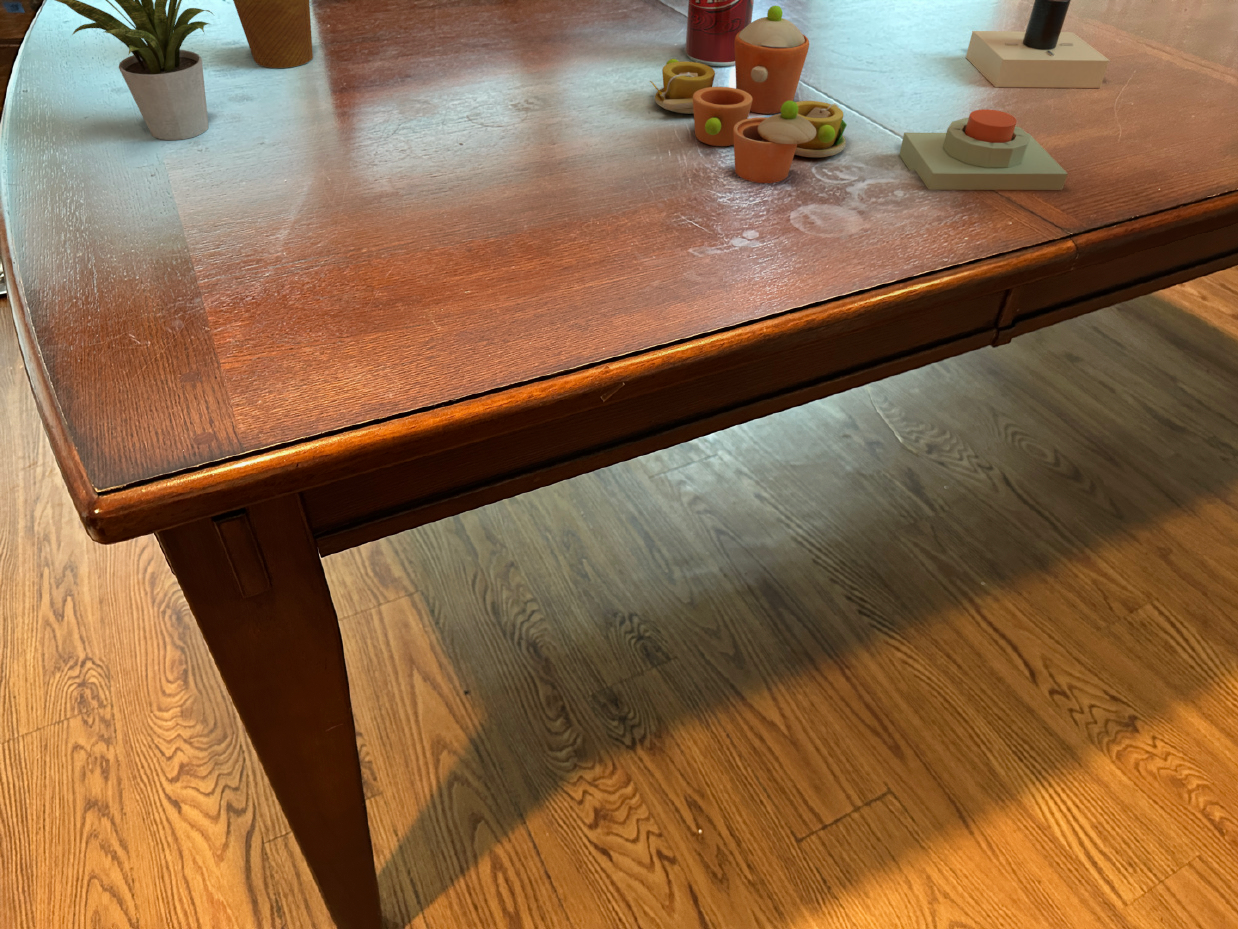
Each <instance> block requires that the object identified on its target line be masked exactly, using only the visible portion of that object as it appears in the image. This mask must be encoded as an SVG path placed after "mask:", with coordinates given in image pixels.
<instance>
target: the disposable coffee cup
mask: <svg viewBox="0 0 1238 929" xmlns="http://www.w3.org/2000/svg"><path fill="white" fill-rule="evenodd" d="M232 1H233V5H234V6H235V10H236V12H237V13H236V14H237V15H238V19H239V21H240V24H241V27H242V29H243V33H244V36H245V38H246V41H247V44H248V47H249V49H250V53H251V55H252V58H253V61H254V63H255V64H256V65H258V66H260V67H264V68H270V69H288V68H294V67H298V66H302V65H306V64H307V63H309V62H310V61H312V60H313V58H314V54H313V38H312V37H313V36H312V23H311V20H312V19H311V8H310V0H232Z"/></svg>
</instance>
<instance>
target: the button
mask: <svg viewBox="0 0 1238 929" xmlns="http://www.w3.org/2000/svg"><path fill="white" fill-rule="evenodd" d="M968 118H969V119H968V123H967V126H966V130H965V135H967V136H969V137H971V138H973V139H976V140H980V141H985V142H990V143H1006V142H1009V141H1011V139H1012V135H1013V132H1014V129H1015V126H1017V123H1018V122H1017V121H1018V120H1017V119H1016V117H1015V116H1014V115H1012V114H1009V113H1008V112H1004V111H1001V110H996V109H988V108H986V109H985V108H984V109H976V110H975V109H974V110H973V111H971V112H970V113H969V116H968Z"/></svg>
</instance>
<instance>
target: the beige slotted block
mask: <svg viewBox="0 0 1238 929" xmlns="http://www.w3.org/2000/svg"><path fill="white" fill-rule="evenodd" d="M1025 32H1026V31H1025V30H1024V31H1019V30H1016V31H1015V30H1014V31H1013V30H1011V31H1009V30H1007V31H1006V30H972V32H971V35H970V40H969V43H968V48H967V50H966V54H965V58H966V59H967V61H968V62H970V64H972V66H974V68H975V69H976V70H978V72H980V73H981V75H983V77H984V78H985V79H986V80H987V81H988V82H989V83H990V84H992V86H994V88H1043V89H1044V88H1047V89H1049V88H1051V89H1052V88H1053V89H1055V88H1057V89H1059V88H1061V89H1064V88H1065V89H1068V88H1069V89H1101V86H1102V84H1103V80H1104V78H1105V75H1106V72H1107V70H1108V67H1109V63H1110V62H1111V60H1110V59H1109V58H1107V57H1106V56H1105V55H1103V54H1102V53H1101V52H1099V51H1098V50H1097V49H1095V48H1094V47H1092V45H1090V44H1089V43H1088V42H1086V41H1085V40H1084V39H1083V38H1081V37H1080V36H1078V35H1077V34H1075V33H1074V32H1073V31H1061V32H1060V36H1059V39H1058V42H1057V45H1056V47H1055V48H1054V49H1047V50H1045V49H1035V48H1031V47H1028V46H1026V45H1024V44H1023V39H1024V36H1025Z"/></svg>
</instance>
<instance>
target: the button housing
mask: <svg viewBox="0 0 1238 929" xmlns="http://www.w3.org/2000/svg"><path fill="white" fill-rule="evenodd" d="M968 119H969V117H965V118H961V119H956V120H953V121H951V123H950V124H949V125H948V127H947V129H946V132H904V133H903V137H902V140H901V145H900V149H899V154H898V155H899V157H900V158H901V160H902V162H903V163H904V164H905V166H906V168H907V169H908V170H909V171H912V172H913V171H915V172H916V173H917V175H918V177H920V179H921V181H922V182H923V184H924V185H925V186H926V188H927V190H931V191H934V190H935V191H936V190H940V191H942V190H943V191H946V190H953V191H954V190H956V191H959V190H961V191H962V190H963V191H964V190H967V191H969V190H970V191H971V190H973V191H976V190H979V191H984V190H985V191H986V190H987V191H989V190H990V191H999V190H1000V191H1030V190H1031V191H1062V190H1064V189H1063V188H1064V186H1065V183H1066V180H1067V177H1068V172H1067V171H1066V170H1065V169H1064V168H1063V167H1062V166H1061V165H1060V164H1059V163H1058V161H1056V159H1055V158H1054V157H1052V155H1050V153H1049V152H1048V151H1047V150H1046V149H1045V148H1044V147H1043V146H1042V145H1041V144H1040V143H1039V142H1038V141H1037V140H1036V139H1035V138H1034V137H1033V136H1032V134H1030V133H1029V132H1028V133H1027V132H1026V131H1025V130H1024V129H1023V128H1022V127H1019V126H1017V125H1016V126H1015V129H1014V132H1013V135H1012V139H1011V141H1009V142H1006V143H990V142H985V141H980V140H976V139H973V138H971V137H969V136H967V135H965V130H966V126H967V123H968Z"/></svg>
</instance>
